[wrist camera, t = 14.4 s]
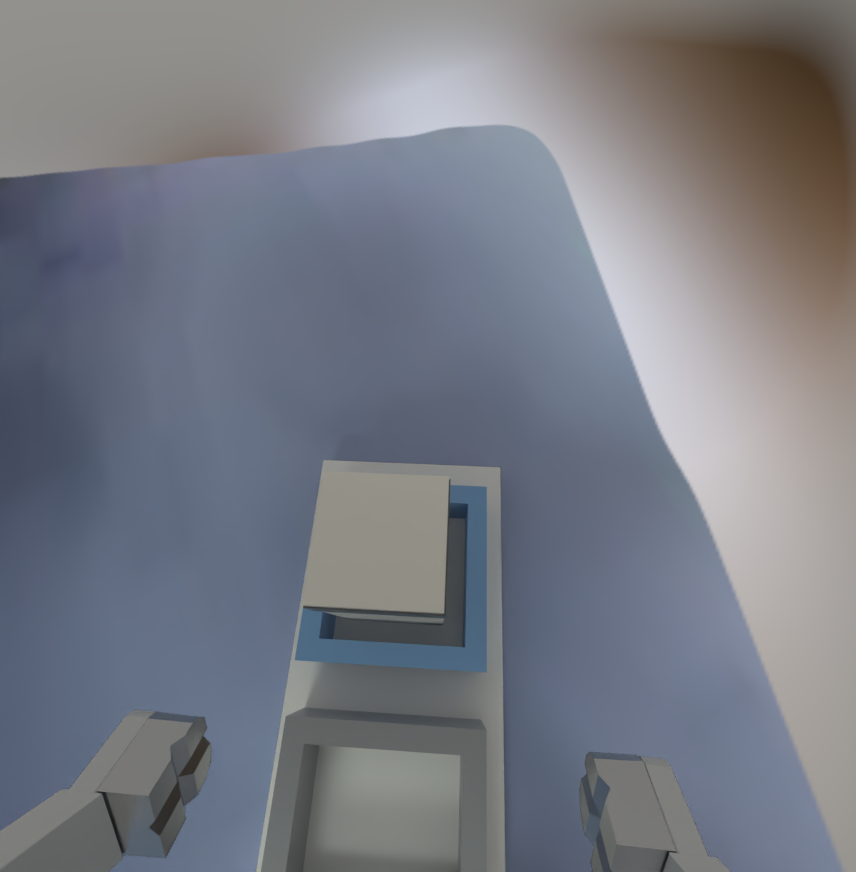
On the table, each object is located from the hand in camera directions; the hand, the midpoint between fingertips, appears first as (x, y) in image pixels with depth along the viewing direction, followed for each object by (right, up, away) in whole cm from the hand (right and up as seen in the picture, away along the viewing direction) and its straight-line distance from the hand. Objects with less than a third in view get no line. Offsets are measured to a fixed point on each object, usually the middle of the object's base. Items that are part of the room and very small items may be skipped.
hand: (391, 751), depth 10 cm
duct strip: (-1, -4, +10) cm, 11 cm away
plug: (0, 0, +11) cm, 11 cm away
